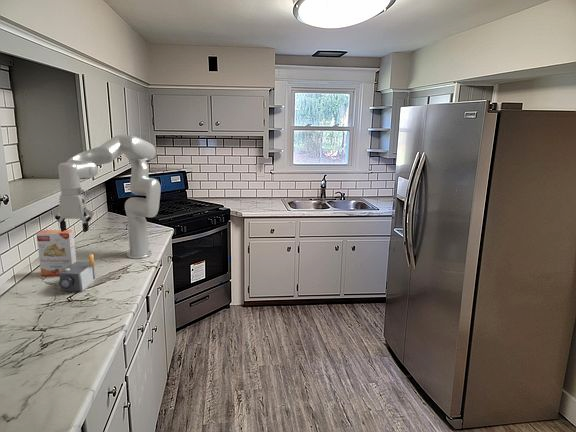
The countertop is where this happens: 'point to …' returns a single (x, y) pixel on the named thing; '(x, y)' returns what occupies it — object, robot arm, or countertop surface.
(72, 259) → the cracker box
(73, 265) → the block
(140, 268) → the countertop surface
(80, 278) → the grey blade tan handle
